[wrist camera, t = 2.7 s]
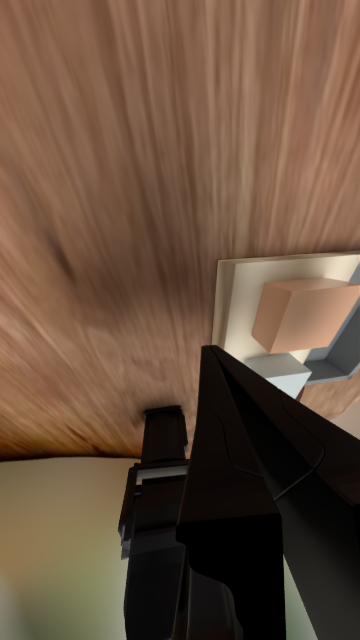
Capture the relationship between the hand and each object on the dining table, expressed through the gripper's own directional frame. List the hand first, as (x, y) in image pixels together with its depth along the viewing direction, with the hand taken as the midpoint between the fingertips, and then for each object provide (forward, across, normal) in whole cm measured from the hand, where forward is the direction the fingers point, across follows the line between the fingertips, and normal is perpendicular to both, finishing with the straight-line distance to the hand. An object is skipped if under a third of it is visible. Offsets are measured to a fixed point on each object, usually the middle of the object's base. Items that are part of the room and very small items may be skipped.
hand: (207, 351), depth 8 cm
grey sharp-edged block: (+4, -8, +8) cm, 12 cm away
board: (+7, -8, +4) cm, 12 cm away
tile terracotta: (+4, -8, 0) cm, 9 cm away
